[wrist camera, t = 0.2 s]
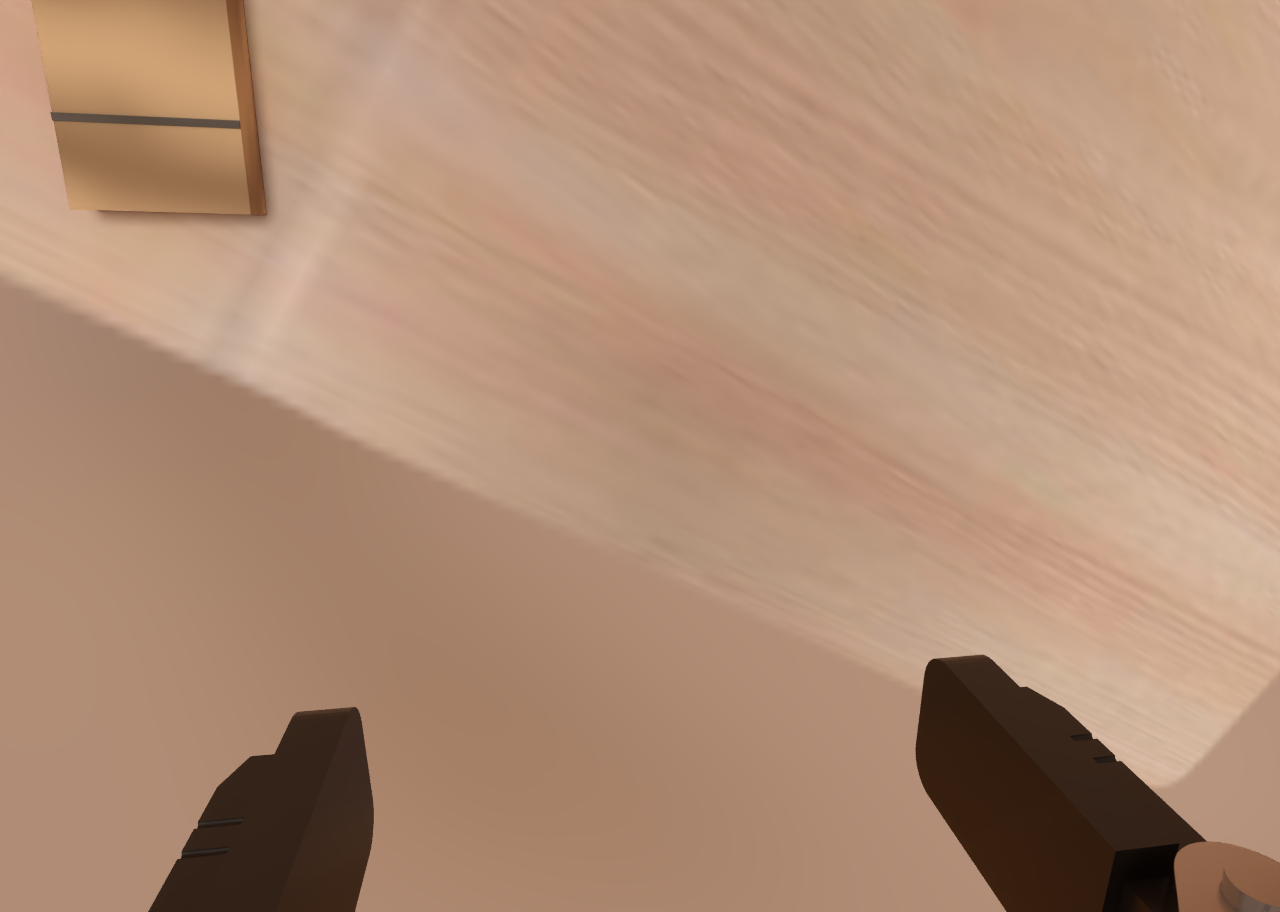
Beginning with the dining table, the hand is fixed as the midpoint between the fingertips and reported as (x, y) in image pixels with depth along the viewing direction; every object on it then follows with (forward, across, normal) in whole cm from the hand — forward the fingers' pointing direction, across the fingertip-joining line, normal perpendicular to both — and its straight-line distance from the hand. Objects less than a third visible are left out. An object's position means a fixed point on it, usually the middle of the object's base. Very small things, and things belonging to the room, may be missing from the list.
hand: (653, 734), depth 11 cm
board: (+29, +16, -17) cm, 37 cm away
